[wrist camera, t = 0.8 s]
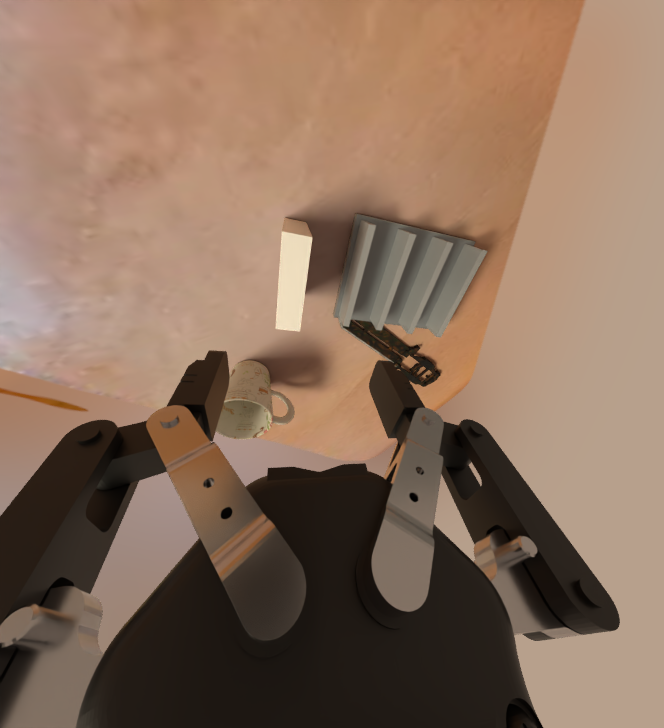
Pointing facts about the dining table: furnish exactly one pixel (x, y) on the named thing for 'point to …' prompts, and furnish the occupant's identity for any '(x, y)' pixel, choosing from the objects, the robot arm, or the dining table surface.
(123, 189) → the dining table surface
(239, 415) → the mug
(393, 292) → the dish rack
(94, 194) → the dining table surface
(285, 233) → the cream rectangular block
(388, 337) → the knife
